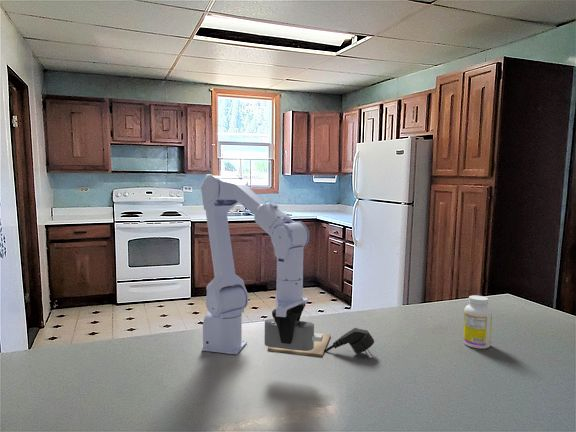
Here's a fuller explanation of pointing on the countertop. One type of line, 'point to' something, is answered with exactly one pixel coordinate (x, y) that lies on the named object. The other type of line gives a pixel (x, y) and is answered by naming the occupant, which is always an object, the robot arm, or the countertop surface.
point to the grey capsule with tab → (301, 336)
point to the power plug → (355, 341)
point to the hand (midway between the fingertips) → (288, 339)
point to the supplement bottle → (477, 323)
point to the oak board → (316, 351)
